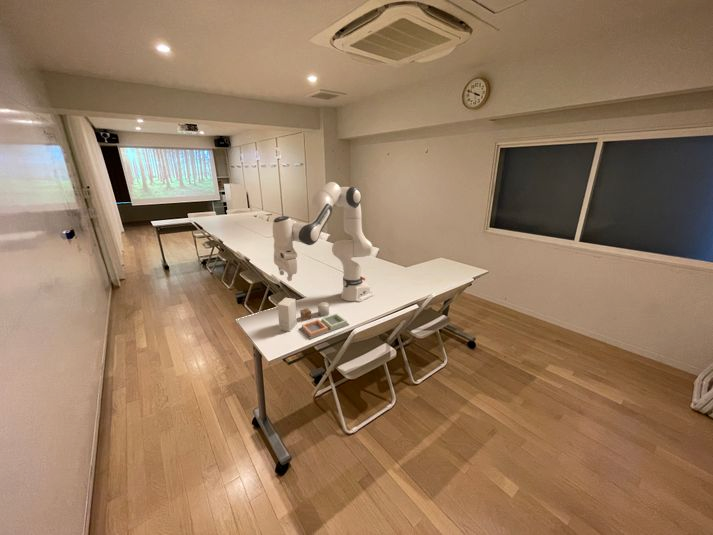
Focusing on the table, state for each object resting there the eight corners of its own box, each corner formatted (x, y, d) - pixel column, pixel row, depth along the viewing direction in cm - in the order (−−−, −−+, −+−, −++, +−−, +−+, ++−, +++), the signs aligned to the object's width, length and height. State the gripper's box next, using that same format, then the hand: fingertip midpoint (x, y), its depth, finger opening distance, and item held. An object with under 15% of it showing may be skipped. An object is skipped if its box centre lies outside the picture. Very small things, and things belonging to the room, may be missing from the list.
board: (337, 316, 159) (337, 312, 159) (349, 325, 150) (349, 320, 150) (299, 328, 146) (299, 324, 145) (310, 339, 137) (309, 335, 136)
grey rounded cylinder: (325, 310, 166) (325, 301, 164) (331, 314, 161) (331, 305, 159) (316, 313, 162) (316, 303, 160) (321, 317, 158) (321, 308, 156)
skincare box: (287, 322, 152) (285, 296, 147) (297, 324, 150) (296, 298, 145) (278, 330, 144) (276, 303, 139) (290, 332, 143) (288, 305, 137)
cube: (307, 315, 159) (307, 308, 158) (311, 318, 156) (311, 311, 154) (300, 317, 157) (300, 310, 155) (304, 321, 153) (303, 313, 152)
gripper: (269, 246, 138) (271, 272, 143) (286, 257, 123) (287, 285, 127) (281, 245, 142) (283, 270, 146) (298, 254, 126) (300, 282, 131)
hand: (285, 277), depth 137 cm, fingers open, 8 cm apart
